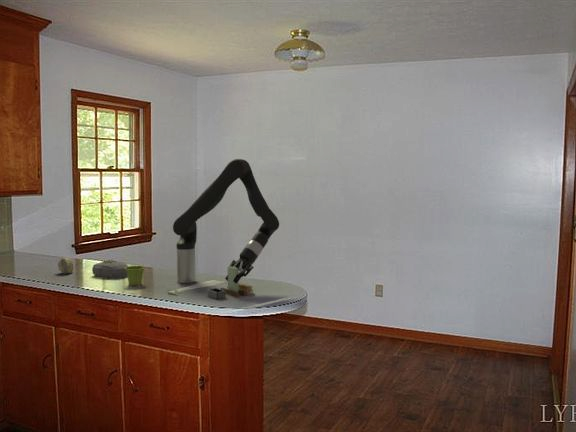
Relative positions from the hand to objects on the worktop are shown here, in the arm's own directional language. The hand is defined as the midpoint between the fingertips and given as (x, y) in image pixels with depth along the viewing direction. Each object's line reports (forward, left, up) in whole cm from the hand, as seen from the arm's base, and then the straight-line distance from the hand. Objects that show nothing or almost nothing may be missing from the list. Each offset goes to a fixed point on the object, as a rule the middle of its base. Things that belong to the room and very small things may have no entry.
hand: (230, 281), depth 233 cm
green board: (0, +1, -6) cm, 6 cm away
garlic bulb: (-87, -71, -7) cm, 112 cm away
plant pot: (-42, -38, -7) cm, 57 cm away
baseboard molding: (-20, -10, -8) cm, 24 cm away
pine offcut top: (-1, +6, -4) cm, 8 cm away
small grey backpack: (-69, -47, -7) cm, 84 cm away
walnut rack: (-1, +3, -7) cm, 8 cm away
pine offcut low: (-2, +6, -6) cm, 9 cm away
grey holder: (+3, -7, -7) cm, 10 cm away
